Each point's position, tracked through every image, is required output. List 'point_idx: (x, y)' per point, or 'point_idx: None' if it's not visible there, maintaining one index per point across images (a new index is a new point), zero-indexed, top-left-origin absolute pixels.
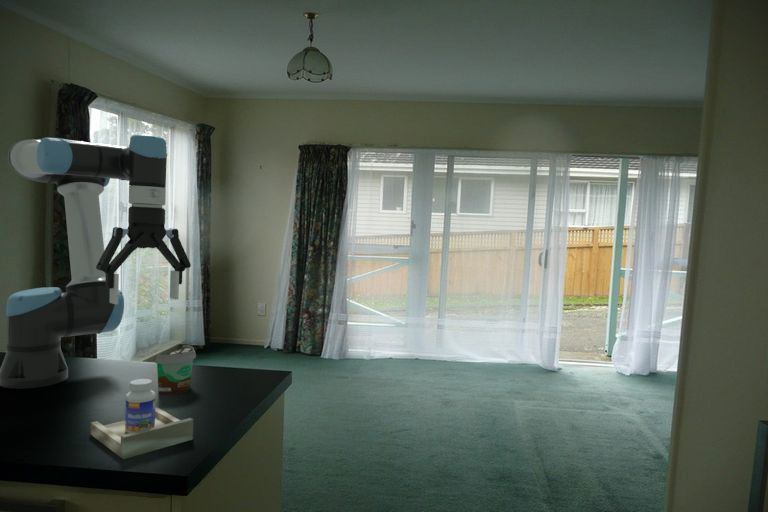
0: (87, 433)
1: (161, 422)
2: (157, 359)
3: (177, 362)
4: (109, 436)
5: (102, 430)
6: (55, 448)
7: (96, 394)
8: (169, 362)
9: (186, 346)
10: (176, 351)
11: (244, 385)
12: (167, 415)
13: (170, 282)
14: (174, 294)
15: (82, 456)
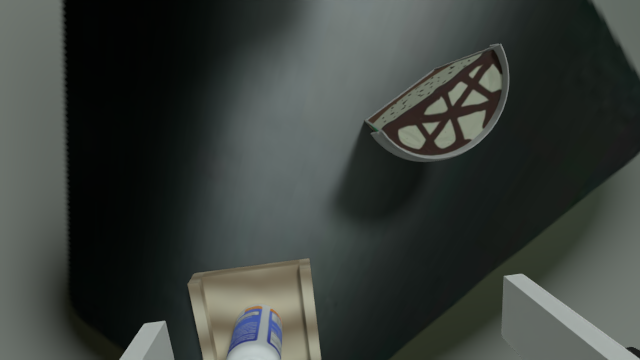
0: (190, 265)
1: (299, 310)
2: (377, 137)
3: (419, 161)
4: (202, 354)
5: (197, 328)
6: (137, 300)
7: (250, 43)
8: (400, 156)
9: (502, 59)
10: (454, 91)
11: (532, 166)
12: (310, 315)
13: (587, 349)
14: (520, 346)
15: None
